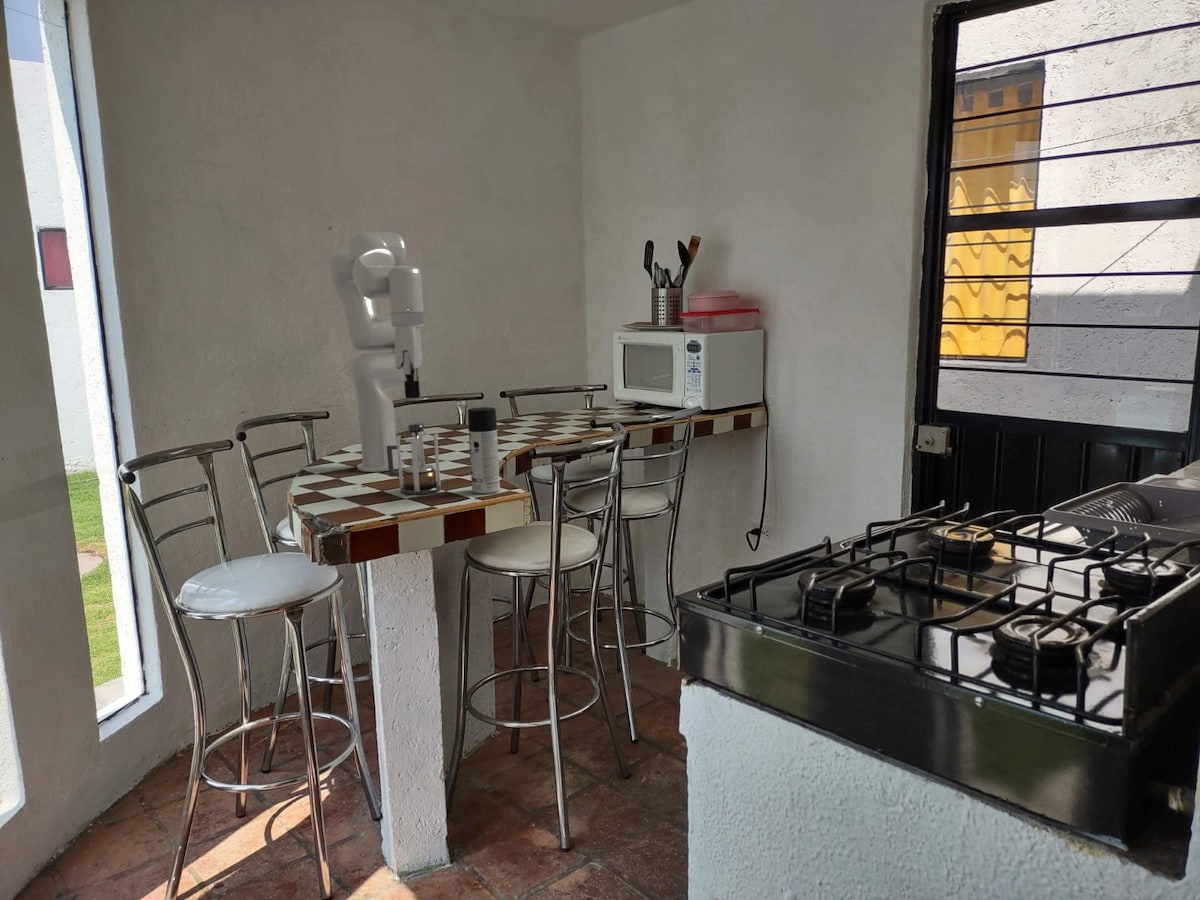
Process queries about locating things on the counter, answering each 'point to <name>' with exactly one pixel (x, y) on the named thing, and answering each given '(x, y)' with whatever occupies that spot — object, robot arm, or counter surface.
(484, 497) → the counter surface
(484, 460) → the spray can
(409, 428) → the coffee press plunger
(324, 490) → the counter surface
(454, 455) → the counter surface
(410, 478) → the cafetera
